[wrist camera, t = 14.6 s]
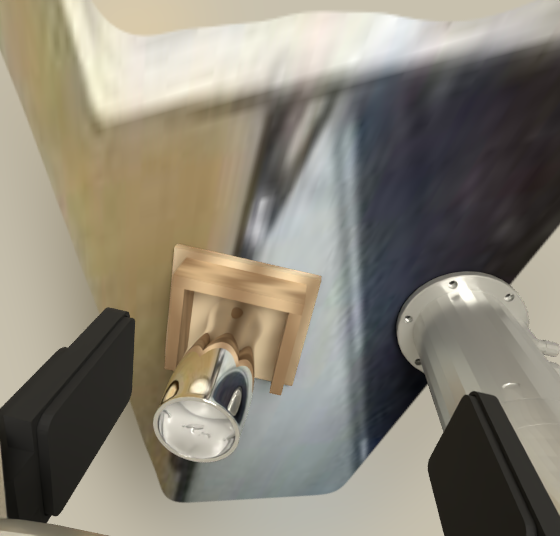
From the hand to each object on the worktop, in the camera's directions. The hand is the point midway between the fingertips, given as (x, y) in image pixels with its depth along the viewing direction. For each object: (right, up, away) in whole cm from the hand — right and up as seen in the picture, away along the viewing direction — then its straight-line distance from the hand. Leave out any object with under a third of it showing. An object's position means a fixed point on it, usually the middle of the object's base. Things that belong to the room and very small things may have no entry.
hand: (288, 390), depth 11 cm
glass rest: (-5, -2, +33) cm, 33 cm away
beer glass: (-5, -2, +32) cm, 33 cm away
